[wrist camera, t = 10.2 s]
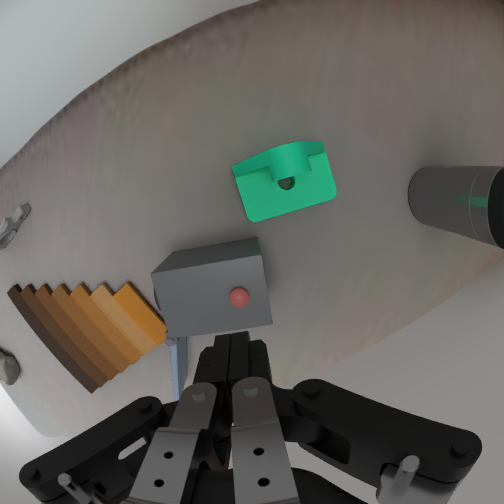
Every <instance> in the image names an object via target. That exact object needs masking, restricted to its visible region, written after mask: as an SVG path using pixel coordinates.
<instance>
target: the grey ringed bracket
mask: <svg viewBox="0 0 504 504" xmlns="http://www.w3.org/2000/svg"><path fill="white" fill-rule="evenodd" d="M30 210H31V208H30V206H29V204H28V205H27V204H25V205H18V208H17V209H16V211H15V212H14V213H13V215H12V216H11V217H10V218H6V217H4V219H3V221H2V223H1V224H0V250H1V249H3V248H5V247H6V246H7V244H8V243H9V241H10V240H11V239H12V238H13V237H14V236H15V234H16V230H17V229H18V227H19V226H20V225H21V223H22V222H23V220H24V219H25V217H26V216H27V215H28V213H29V212H30Z"/></svg>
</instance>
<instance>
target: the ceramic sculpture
mask: <svg viewBox="0 0 504 504" xmlns="http://www.w3.org/2000/svg"><path fill="white" fill-rule="evenodd" d="M18 376H19V365H18V363H17V362H16V360H15V358H14V357H11V356H5V355H4V354H3V353H2V352H1V351H0V380H3V381H4V382H5V383H6V384H7V385H13V384H14V383H15V382H16V381H17V379H18Z"/></svg>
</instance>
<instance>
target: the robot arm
mask: <svg viewBox="0 0 504 504" xmlns="http://www.w3.org/2000/svg"><path fill="white" fill-rule="evenodd" d="M408 194H409V204H410V208H411V210H412V212H413V214H414V216H415V217H416V218H417V219H418V220H419V221H420V222H421V223H423V224H426V225H429V226H433V227H436V228H439V229H443V230H446V231H449V232H453V233H456V234H459V235H462V236H466V237H469V238H472V239H475V240H478V241H481V242H484V243H488V244H491V245H494V246H496V247H499V248H502V249H504V167H499V166H454V167H426V168H423V169H421V170H419V171H418V172H417V173H416V174H415V175H414V177H413V178H412V180H411V183H410V186H409V192H408ZM232 423H234V426H232ZM142 437H143V438H144V440H145V441H146V444H145V445H143V446H142V447H140V448H139V449H137V450H136V451H134V452H133V453H131V454H130V455H128V456H127V457H126V458H124V459H121V460H119V459H118V456H119V453H120V452H121V451H122V450H124V449H125V448H127V447H128V446H130V445H131V444H133V443H134V442H135V441H137V440H139V439H140V438H142ZM284 441H287V442H298V444H299V445H300V447H302V448H303V449H304V450H306V451H308V452H309V453H311V454H313V455H315V456H316V457H318V458H320V459H322V460H323V461H325V462H327V463H328V464H330V465H332V466H334V467H336V468H338V469H340V470H342V471H343V472H345V473H347V474H349V475H351V476H353V477H355V478H357V479H359V480H361V481H363V482H365V483H368V484H369V485H372V486H374V487H376V488H377V490H376V499H377V501H378V502H379V504H447V502H448V500H449V499H450V497H451V495H452V494H453V492H454V491H455V490H456V488H457V487H458V486H459V485H460V483H461V482H462V481H463V479H464V478H465V477H466V475H467V474H468V472H469V471H470V470H471V468H472V467H473V465H474V464H475V462H476V461H477V459H478V458H479V456H480V454H481V451H482V443H481V440H480V439H479V437H478V436H477V435H476V434H475V433H473V432H471V431H468V430H463V429H460V428H456V427H453V426H449V425H446V424H442V423H439V422H435V421H432V420H429V419H426V418H423V417H419V416H416V415H413V414H410V413H407V412H404V411H401V410H398V409H396V408H393V407H390V406H387V405H384V404H382V403H379V402H376V401H374V400H371V399H368V398H365V397H363V396H360V395H358V394H355V393H353V392H350V391H348V390H345V389H343V388H341V387H338V386H335V385H333V384H331V383H329V382H326V381H324V380H320V379H308V380H305V381H302V382H300V383H298V384H297V385H296V386H295V387H294V388H293V390H291V389H289V390H288V389H282V388H279V387H276V386H275V385H273V384H272V376H271V369H270V363H269V358H268V353H267V347H266V344H265V343H264V342H263V341H262V340H261V339H260V340H254V341H250V336H249V332H248V331H244V332H237V333H232V334H224V335H216V336H215V341H214V346H212V347H206V348H205V349H204V350H203V351H202V352H201V353H200V357H199V362H198V365H197V369H196V373H195V377H194V381H193V385H190V386H189V387H187V388H186V389H185V390H184V391H183V392H182V394H181V397H180V399H179V400H178V401H175V402H171V403H167V404H163V405H162V403H161V401H160V400H159V399H158V398H156V397H152V396H146V397H142V398H139V399H137V400H135V401H134V402H132V403H130V404H129V405H127V406H126V407H124V408H122V409H121V410H119V411H118V412H116V413H114V414H113V415H111V416H110V417H108V418H106V419H105V420H103V421H101V422H100V423H98V424H96V425H95V426H93V427H91V428H90V429H88V430H86V431H85V432H83V433H81V434H79V435H78V436H76V437H74V438H72V439H71V440H69V441H67V442H66V443H64V444H62V445H60V446H58V447H57V448H55V449H53V450H51V451H49V452H47V453H45V454H43V455H42V456H40V457H38V458H36V459H34V460H32V461H30V462H28V463H27V464H25V465H24V466H23V467H22V469H21V470H20V473H19V479H20V482H21V483H22V484H23V486H25V487H26V488H27V489H28V490H29V491H30V492H31V493H32V494H33V495H34V496H35V497H36V498H37V499H38V500H39V501H40V502H41V503H42V504H368V503H366V502H364V501H362V500H360V499H358V498H357V497H355V496H353V495H351V494H349V493H348V492H346V491H344V490H342V489H341V488H339V487H337V486H336V485H334V484H332V483H331V482H329V481H328V480H326V479H325V478H323V477H321V476H319V475H317V474H315V473H313V472H310V471H307V470H303V469H299V468H292V467H291V466H290V462H289V458H288V454H287V450H286V446H285V442H284ZM231 447H232V460H233V468H232V469H228V467H229V460H230V454H231Z"/></svg>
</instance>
